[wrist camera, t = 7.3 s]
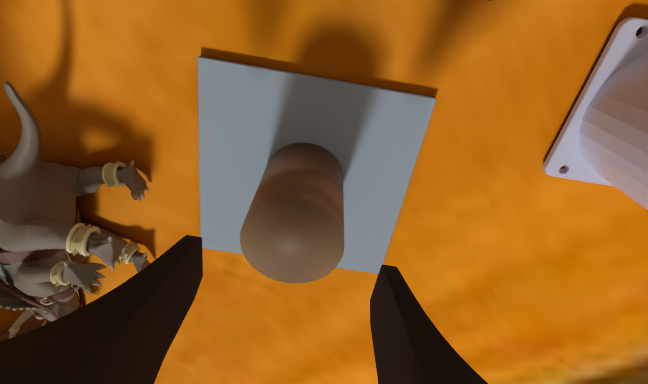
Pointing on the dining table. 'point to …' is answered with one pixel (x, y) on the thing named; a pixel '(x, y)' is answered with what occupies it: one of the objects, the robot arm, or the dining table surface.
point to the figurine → (53, 227)
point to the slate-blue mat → (309, 127)
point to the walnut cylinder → (296, 216)
